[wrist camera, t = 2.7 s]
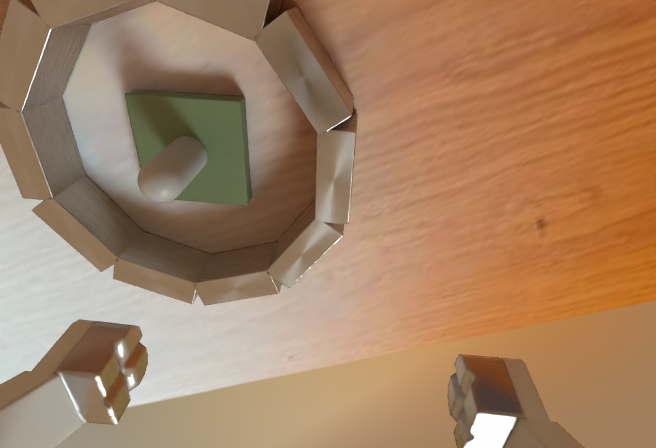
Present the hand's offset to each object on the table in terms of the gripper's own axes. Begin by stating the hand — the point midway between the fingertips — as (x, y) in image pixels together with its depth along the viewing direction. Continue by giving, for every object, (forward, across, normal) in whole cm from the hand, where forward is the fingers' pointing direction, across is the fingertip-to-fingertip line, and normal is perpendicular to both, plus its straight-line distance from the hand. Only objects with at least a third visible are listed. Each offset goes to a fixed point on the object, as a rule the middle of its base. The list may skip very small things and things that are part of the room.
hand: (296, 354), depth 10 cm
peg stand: (+14, +8, 0) cm, 16 cm away
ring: (+14, +8, 0) cm, 16 cm away
